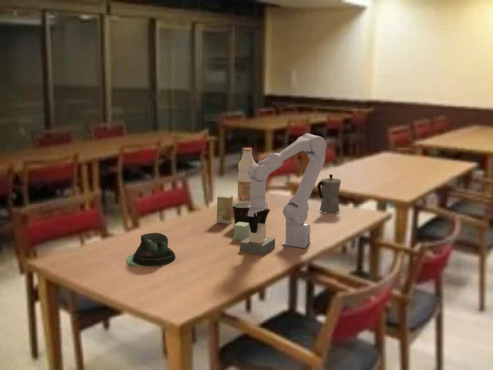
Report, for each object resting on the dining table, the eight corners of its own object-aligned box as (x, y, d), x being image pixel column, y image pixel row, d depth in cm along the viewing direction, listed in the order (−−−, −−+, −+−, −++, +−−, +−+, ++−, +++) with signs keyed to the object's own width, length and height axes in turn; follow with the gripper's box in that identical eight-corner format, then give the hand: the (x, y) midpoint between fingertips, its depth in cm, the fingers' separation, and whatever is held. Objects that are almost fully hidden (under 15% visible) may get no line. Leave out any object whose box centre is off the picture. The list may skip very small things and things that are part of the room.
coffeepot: (331, 206, 289) (333, 171, 285) (346, 210, 282) (347, 174, 277) (309, 212, 279) (310, 175, 275) (324, 216, 272) (325, 178, 268)
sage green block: (250, 237, 242) (250, 223, 240) (245, 240, 237) (245, 226, 236) (238, 235, 243) (239, 221, 242) (233, 239, 239) (233, 224, 238)
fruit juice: (233, 203, 294) (233, 148, 287) (247, 200, 300) (247, 146, 294) (246, 207, 287) (247, 150, 281) (260, 203, 293) (260, 148, 287)
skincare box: (216, 223, 260) (216, 196, 258) (219, 220, 264) (219, 194, 262) (230, 224, 259) (230, 197, 256) (233, 221, 263) (233, 195, 260)
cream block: (265, 238, 228) (266, 224, 226) (261, 242, 223) (261, 227, 222) (253, 237, 229) (253, 222, 228) (249, 241, 225) (249, 226, 224)
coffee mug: (239, 223, 260) (239, 201, 258) (256, 226, 256) (256, 204, 254) (224, 230, 251) (224, 207, 248) (242, 233, 246) (242, 210, 244)
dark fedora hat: (185, 251, 225) (184, 228, 223) (175, 270, 206) (174, 245, 203) (134, 249, 226) (134, 226, 224) (119, 268, 207) (118, 243, 205)
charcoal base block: (274, 248, 229) (275, 238, 228) (262, 256, 220) (263, 245, 220) (252, 244, 234) (252, 234, 233) (239, 251, 225) (239, 241, 224)
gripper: (255, 190, 230) (255, 223, 233) (240, 198, 217) (240, 233, 220) (272, 192, 228) (271, 225, 231) (258, 200, 215) (257, 236, 218)
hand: (257, 229), depth 225 cm, fingers open, 7 cm apart
